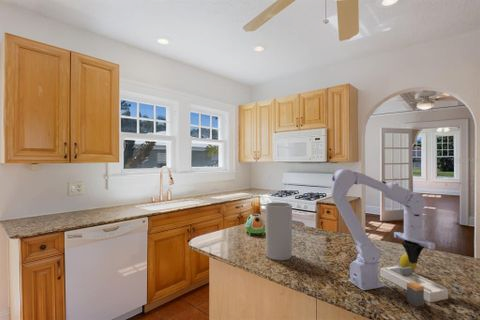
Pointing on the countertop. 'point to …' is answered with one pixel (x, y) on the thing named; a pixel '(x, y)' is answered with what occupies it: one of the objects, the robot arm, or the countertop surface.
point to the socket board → (430, 288)
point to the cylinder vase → (279, 231)
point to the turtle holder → (255, 224)
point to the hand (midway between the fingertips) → (413, 262)
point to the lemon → (406, 262)
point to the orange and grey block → (415, 294)
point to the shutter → (403, 271)
